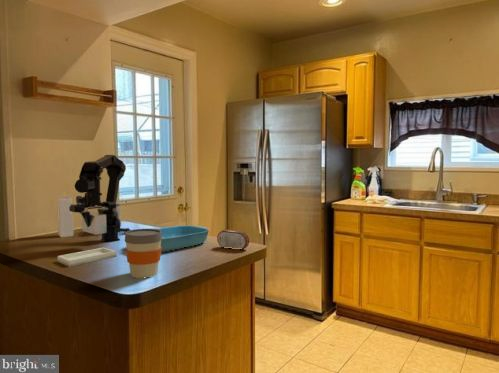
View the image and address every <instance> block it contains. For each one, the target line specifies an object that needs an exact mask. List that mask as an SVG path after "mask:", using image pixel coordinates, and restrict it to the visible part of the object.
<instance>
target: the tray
mask: <svg viewBox="0 0 499 373" xmlns="http://www.w3.org/2000/svg"><path fill="white" fill-rule="evenodd" d="M113 258H117V250H113V249H110V248H107V247H98V248H94V249H88V250H82V251H77V252H71V253H67V254H61V255H57V263H59V264H60V263H61V264H62V265H64V266H67V267H68V268H71V267H74V266H79V265H84V264H88V263H93V262H98V261H103V260H107V259H113Z"/></svg>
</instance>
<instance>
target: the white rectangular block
mask: <svg viewBox="0 0 499 373" xmlns="http://www.w3.org/2000/svg"><path fill="white" fill-rule="evenodd" d="M89 212H90V225H89V227H87V225H86V223H85V220H84V218H83V216H82V215H81V226H82V227H81V230H82V232H85V233H87V234H88V233H89V234H92V235H94V236H95V235H102V234H103V233H107V229H106V214H101V213H99V212H95V211H89Z"/></svg>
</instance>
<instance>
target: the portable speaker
mask: <svg viewBox="0 0 499 373" xmlns="http://www.w3.org/2000/svg"><path fill="white" fill-rule="evenodd" d="M217 243H218V245H219V246H220V247H221V246H222V247H221V248H223V247H232V248H242V249H243V250H245V249H246V248H248V247H249V244H250V238H249V235H248V234H247V233H246V232H244V231H242V230H235V229H227V228H226V229H222V230H221V231H220V232H219V233H218V234H217Z"/></svg>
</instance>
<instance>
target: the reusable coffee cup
mask: <svg viewBox="0 0 499 373" xmlns="http://www.w3.org/2000/svg"><path fill="white" fill-rule="evenodd" d="M161 240H162V233H161V230H158V228H137V229H130V231H127V232H124V242H125V245H126V248H125V254H126V260H127V261H126V262H127V263H128V264H129V265H128V266H129V272H130V276H133V277H137V278H136V279H139V278H143V279H145V278H144V277H150V276H154V275H156V274H157V275H158V270H159V263H160V261H161V256H162V252H161V248H162V247H161ZM157 275H156V276H157ZM133 277H132V278H133ZM154 277H155V276H154ZM150 278H151V277H150Z"/></svg>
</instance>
